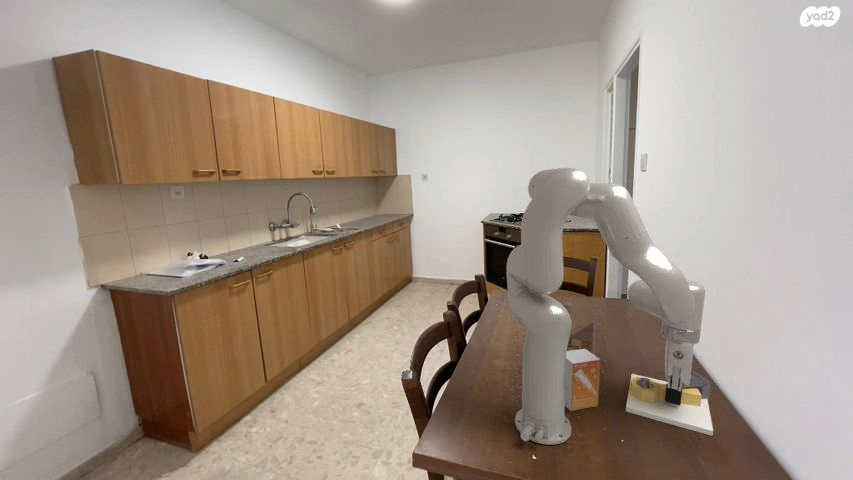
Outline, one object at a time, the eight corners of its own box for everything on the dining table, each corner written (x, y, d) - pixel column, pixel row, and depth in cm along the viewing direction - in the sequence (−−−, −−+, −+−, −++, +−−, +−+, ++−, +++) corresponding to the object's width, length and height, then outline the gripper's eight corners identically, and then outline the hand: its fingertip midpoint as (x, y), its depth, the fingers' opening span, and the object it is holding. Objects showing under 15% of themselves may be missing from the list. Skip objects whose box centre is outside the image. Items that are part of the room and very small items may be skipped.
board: (712, 436, 80) (713, 431, 79) (625, 411, 89) (626, 406, 89) (705, 394, 94) (705, 390, 94) (631, 377, 104) (631, 373, 103)
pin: (647, 404, 91) (649, 382, 90) (638, 401, 92) (640, 380, 91) (648, 400, 93) (649, 378, 92) (639, 397, 94) (640, 376, 93)
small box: (570, 412, 89) (572, 363, 87) (556, 397, 96) (557, 351, 93) (598, 406, 91) (601, 359, 89) (582, 392, 97) (584, 347, 95)
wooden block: (591, 365, 111) (594, 310, 108) (557, 355, 118) (558, 303, 115) (595, 360, 114) (597, 306, 111) (561, 351, 121) (562, 300, 118)
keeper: (693, 391, 96) (694, 371, 95) (708, 402, 91) (710, 381, 90) (668, 393, 96) (669, 373, 95) (682, 404, 91) (684, 383, 90)
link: (632, 399, 92) (633, 388, 91) (628, 386, 97) (629, 375, 97) (703, 410, 86) (704, 399, 86) (694, 395, 92) (695, 385, 92)
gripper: (701, 347, 77) (691, 424, 80) (698, 325, 89) (690, 392, 92) (659, 339, 82) (652, 412, 85) (663, 318, 94) (656, 383, 97)
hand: (672, 401), depth 88 cm, fingers closed
